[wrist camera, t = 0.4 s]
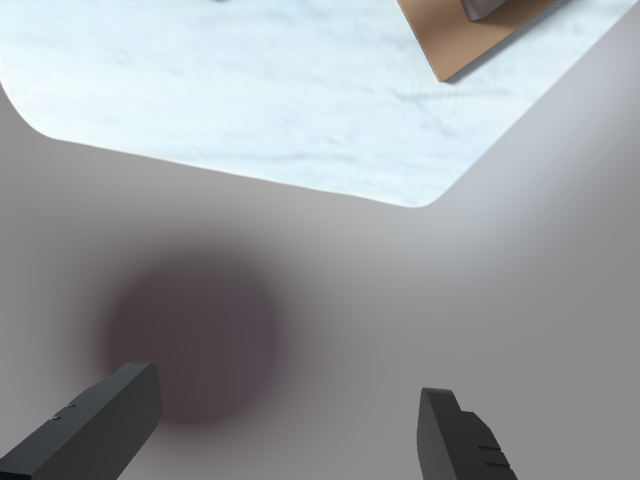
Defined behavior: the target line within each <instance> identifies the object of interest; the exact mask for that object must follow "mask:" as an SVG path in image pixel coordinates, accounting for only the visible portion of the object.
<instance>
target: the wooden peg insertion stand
mask: <svg viewBox="0 0 640 480" xmlns="http://www.w3.org/2000/svg"><path fill="white" fill-rule="evenodd" d="M556 1H557V0H397V2H398V3H399V5H400V7H401V9H402V11H403V13H404V15H405V17H406V19H407V21H408V23H409V25H410V27H411V29H412V31H413V33H414V35H415V36H416V38H417V40H418V42H419V44H420V46H421V48H422V50H423V52H424V54H425V56H426V58H427V60H428V62H429V64H430V66H431V67H432V69H433V71H434V73H435V75H436V77H437V79H438V81H439V82H443V81H445V80H446V79H448V78H449V77H450V76H452V75H453V74H455V73H456V72H457V71H459V70H460V69H462V68H463V67H464V66H466V65H467V64H469V63H470V62H472V61H473V60H474V59H476V58H477V57H479V56H480V55H481V54H483V53H484V52H486V51H487V50H488V49H490V48H491V47H493V46H494V45H495V44H497V43H498V42H500V41H501V40H502V39H504V38H505V37H507V36H508V35H510V34H511V33H512V32H514V31H515V30H517V29H518V28H519V27H521V26H522V25H524V24H525V23H526V22H528V21H529V20H531V19H532V18H533V17H535V16H536V15H538V14H539V13H540V12H542V11H543V10H545V9H546V8H547V7H549V6H550V5H552V4H553V3H555V2H556Z"/></svg>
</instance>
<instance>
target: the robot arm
mask: <svg viewBox="0 0 640 480" xmlns="http://www.w3.org/2000/svg"><path fill="white" fill-rule="evenodd" d="M158 376H159V375H158V369H157V367H156V365H154V364H145V363H133V362H129V363H127V364H125V365H124V366H122V367H121V368H120V369H119V370H118V371H116V372H115V373H114V374H113V375H112V376H110V377H109V378H108V379H105V380H103V381H101V382H99V383H97V384H96V385H94V386H92V387H90V388H88V389H86V390H85V391H83V392H82V393H81V394H80V395H79V396H77V397H76V398H75V399H74V400H72V401H71V402H70V403H69V404H68V406H67V407H64V408H63V409H62V410H60V411H59V412H58V413H56V414H55V415H54V416H53V418H52V420H48V421H47V422H45V423H44V424H43V425H42V426H40V427H39V428H38V429H37V430H36V431H34V432H33V433H32V434H31V435H29V436H28V437H27V438H26V439H24V440H23V441H22V442H21V443H20V444H19V445H17V446H16V447H15V448H13V449H12V450H11V451H10V452H9V453H7V454H6V455H5V456H4V457H2V458H1V459H0V480H117V478H118V477H119V476H120V474H121V473H122V472H123V470H124V469H125V468H126V466H127V465H128V464H129V463H130V461H131V460H132V459H133V457H134V456H135V455H136V454H137V452H138V451H139V450H140V448H141V447H142V446H143V444H144V443H145V442H146V440H147V439H148V438H149V437H150V435H151V434H152V433H153V431H154V429H155V428H156V427H157V425H158V422H159V420H160V417H161V412H162V403H161V394H160V385H159V377H158ZM417 450H418V457H419V462H420V466H421V470H422V474H423V479H424V480H518V479H517V478H516V476H515V474H514V472H513V470H511V469H510V464H509V463H508V461H507V459H506V457H505V455H504V453H503V452H501V448H500V446H499V444H498V443H497V441H496V439H495V437H494V435H493V433H492V432H491V430H490V428H489V427H487V425H486V424H485V423H484V422H483V421H482V420H481V419H480V418H479V417H478V416H477V415H476V414H474V413H473V412H464V411H461V409H460V407H459V405H458V402H457V400H456V398H455V396H454V394H453V392H452V391H451V390H446V389H435V388H423V389H422V391H421V398H420V407H419V417H418V427H417Z"/></svg>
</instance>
